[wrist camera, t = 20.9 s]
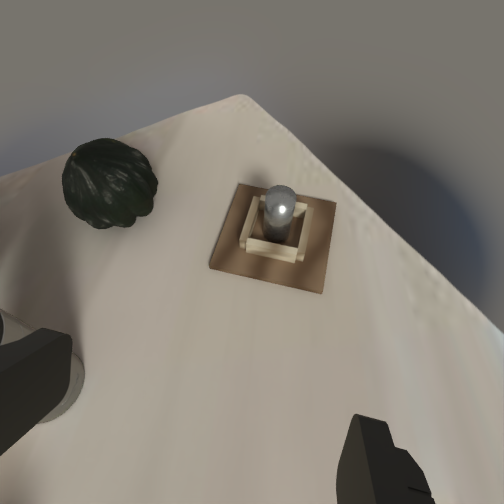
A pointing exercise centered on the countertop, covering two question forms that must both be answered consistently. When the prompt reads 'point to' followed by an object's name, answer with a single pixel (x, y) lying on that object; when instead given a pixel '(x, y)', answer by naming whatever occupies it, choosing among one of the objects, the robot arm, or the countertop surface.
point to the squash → (108, 184)
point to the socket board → (276, 254)
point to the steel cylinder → (278, 213)
